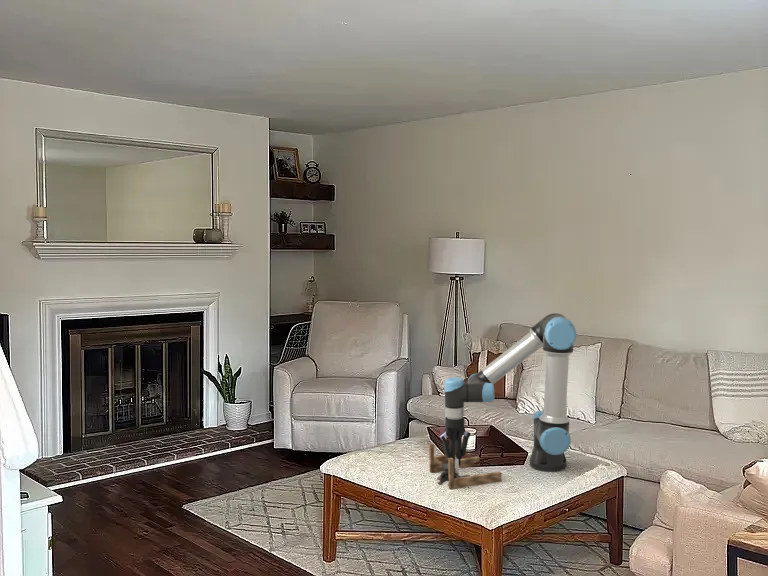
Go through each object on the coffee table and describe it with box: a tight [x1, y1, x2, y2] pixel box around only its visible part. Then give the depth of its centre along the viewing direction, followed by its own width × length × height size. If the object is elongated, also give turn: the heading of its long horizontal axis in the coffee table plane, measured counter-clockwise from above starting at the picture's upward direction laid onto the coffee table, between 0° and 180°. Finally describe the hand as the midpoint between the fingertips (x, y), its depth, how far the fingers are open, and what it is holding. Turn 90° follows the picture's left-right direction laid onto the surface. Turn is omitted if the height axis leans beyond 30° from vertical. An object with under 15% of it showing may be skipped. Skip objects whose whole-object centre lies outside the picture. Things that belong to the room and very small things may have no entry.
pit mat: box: [442, 463, 448, 471], centre depth 324 cm, size 7×6×1 cm
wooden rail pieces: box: [428, 442, 502, 490], centre depth 315 cm, size 22×28×12 cm
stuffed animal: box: [436, 467, 471, 487], centre depth 308 cm, size 12×10×12 cm
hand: (455, 474), depth 310 cm, fingers closed
